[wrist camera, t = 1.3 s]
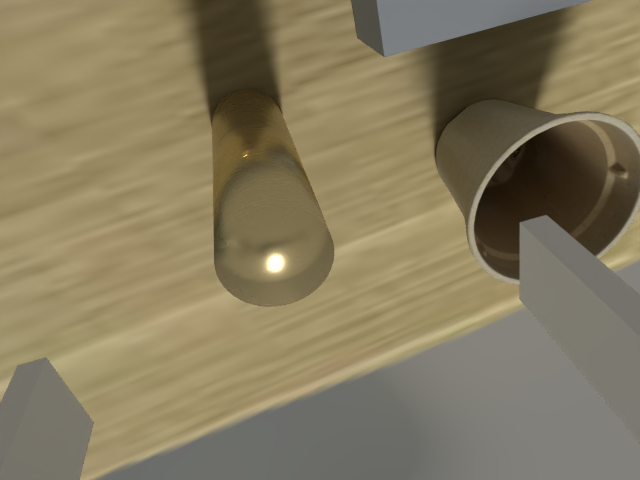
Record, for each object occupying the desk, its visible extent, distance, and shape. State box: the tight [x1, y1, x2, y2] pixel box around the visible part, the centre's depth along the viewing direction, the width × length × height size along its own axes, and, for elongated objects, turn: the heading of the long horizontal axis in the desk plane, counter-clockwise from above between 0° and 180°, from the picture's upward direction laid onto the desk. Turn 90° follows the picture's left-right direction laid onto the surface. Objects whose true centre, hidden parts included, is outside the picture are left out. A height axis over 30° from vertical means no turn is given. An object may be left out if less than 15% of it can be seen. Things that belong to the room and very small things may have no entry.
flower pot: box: [436, 99, 640, 285], centre depth 28 cm, size 9×9×9 cm
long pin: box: [212, 89, 334, 307], centre depth 23 cm, size 4×4×14 cm
